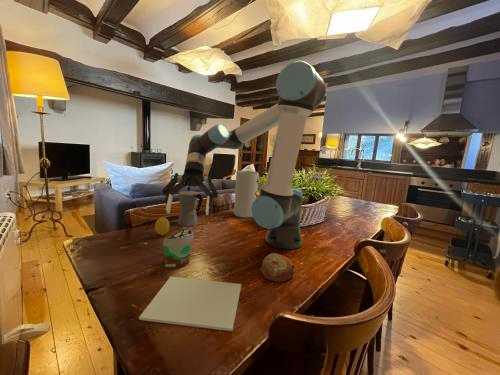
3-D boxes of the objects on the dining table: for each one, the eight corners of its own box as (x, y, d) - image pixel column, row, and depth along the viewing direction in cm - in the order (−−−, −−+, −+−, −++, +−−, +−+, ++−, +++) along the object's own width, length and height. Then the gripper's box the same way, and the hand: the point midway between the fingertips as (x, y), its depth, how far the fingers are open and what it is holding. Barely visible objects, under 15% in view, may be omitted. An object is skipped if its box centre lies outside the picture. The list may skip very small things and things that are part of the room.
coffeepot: (170, 222, 110) (171, 185, 107) (185, 218, 118) (186, 184, 115) (194, 230, 102) (195, 190, 100) (208, 225, 110) (209, 188, 108)
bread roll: (263, 275, 76) (254, 254, 75) (291, 263, 76) (283, 242, 75) (268, 293, 67) (258, 270, 65) (300, 280, 67) (291, 256, 65)
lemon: (172, 234, 95) (172, 216, 94) (163, 239, 90) (163, 219, 89) (161, 232, 97) (161, 214, 96) (151, 236, 92) (151, 217, 91)
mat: (241, 286, 63) (241, 284, 63) (232, 331, 47) (232, 328, 47) (170, 278, 64) (170, 276, 64) (139, 319, 48) (139, 317, 48)
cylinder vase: (256, 213, 137) (260, 172, 133) (253, 219, 125) (256, 173, 121) (236, 211, 139) (239, 170, 135) (231, 216, 127) (233, 171, 123)
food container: (181, 274, 66) (182, 242, 65) (162, 271, 68) (162, 239, 66) (199, 256, 78) (200, 228, 77) (182, 253, 80) (183, 226, 78)
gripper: (225, 174, 97) (222, 218, 85) (165, 170, 95) (153, 216, 82) (226, 162, 91) (223, 208, 79) (161, 158, 89) (148, 205, 76)
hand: (187, 212), depth 81 cm, fingers open, 13 cm apart
